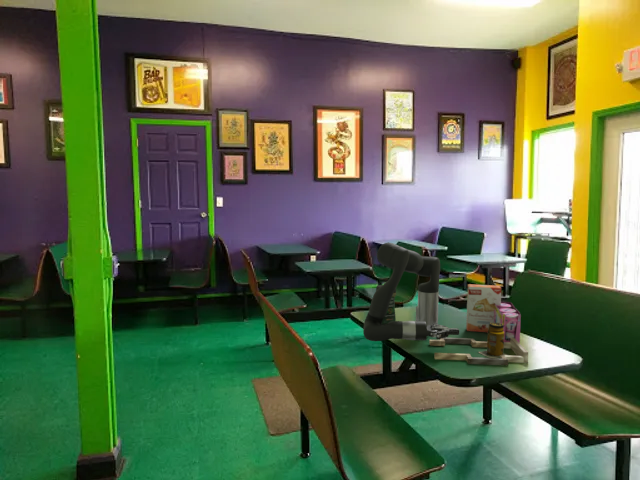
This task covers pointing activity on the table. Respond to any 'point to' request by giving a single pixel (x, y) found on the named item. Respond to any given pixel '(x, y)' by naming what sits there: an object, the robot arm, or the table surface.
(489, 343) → the condiment
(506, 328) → the gum box
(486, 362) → the lane
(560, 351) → the table surface
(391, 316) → the coffee jar
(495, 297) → the cracker box
